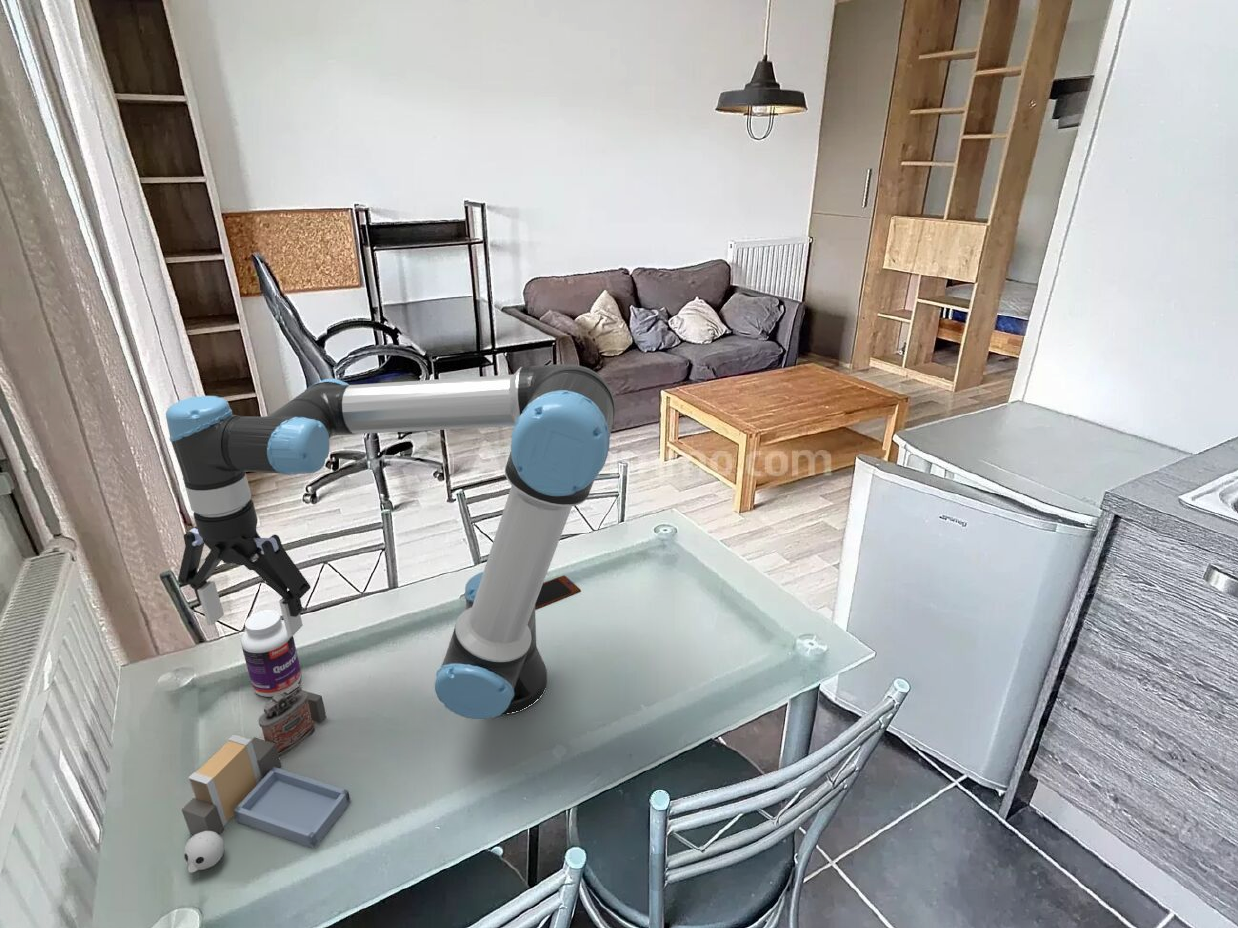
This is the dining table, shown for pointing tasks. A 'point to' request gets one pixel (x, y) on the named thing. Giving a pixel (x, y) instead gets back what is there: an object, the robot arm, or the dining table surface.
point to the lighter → (287, 720)
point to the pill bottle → (270, 654)
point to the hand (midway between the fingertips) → (255, 625)
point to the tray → (293, 807)
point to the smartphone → (555, 591)
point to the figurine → (203, 850)
